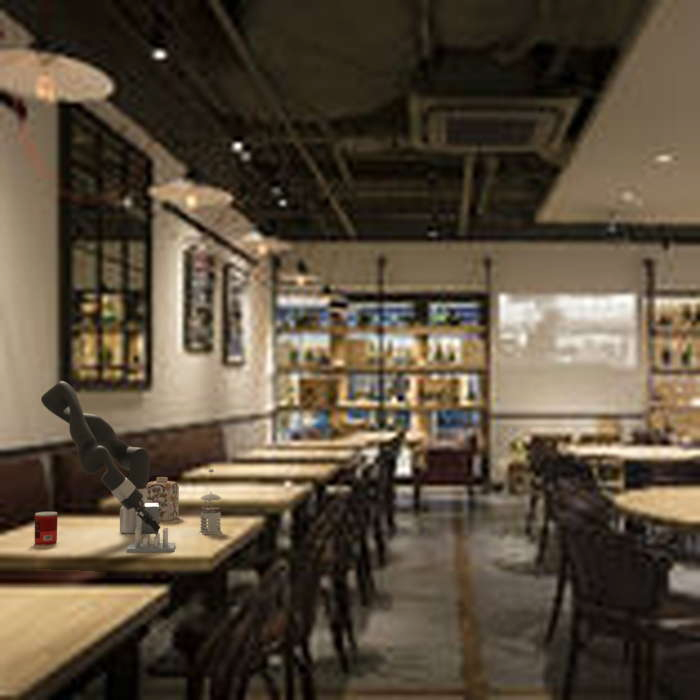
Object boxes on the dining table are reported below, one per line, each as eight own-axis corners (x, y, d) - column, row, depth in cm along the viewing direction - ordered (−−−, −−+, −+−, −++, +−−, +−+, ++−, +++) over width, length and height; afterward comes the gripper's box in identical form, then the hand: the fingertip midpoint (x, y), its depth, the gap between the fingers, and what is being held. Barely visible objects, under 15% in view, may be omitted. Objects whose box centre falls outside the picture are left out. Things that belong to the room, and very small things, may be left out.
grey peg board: (126, 552, 331) (126, 531, 331) (130, 546, 343) (130, 526, 343) (173, 551, 333) (173, 530, 333) (175, 545, 345) (175, 525, 345)
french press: (202, 535, 368) (203, 470, 369) (193, 531, 379) (193, 468, 380) (226, 533, 373) (227, 469, 374) (216, 529, 383) (217, 467, 384)
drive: (141, 534, 341) (141, 506, 340) (141, 530, 346) (141, 503, 345) (158, 533, 342) (159, 506, 341) (157, 529, 347) (158, 502, 346)
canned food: (61, 542, 351) (61, 512, 351) (47, 545, 343) (48, 515, 344) (43, 541, 353) (44, 511, 354) (29, 544, 346) (30, 513, 346)
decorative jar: (143, 520, 407) (144, 478, 408) (153, 516, 419) (154, 475, 419) (170, 521, 405) (170, 478, 406) (179, 517, 417) (180, 476, 417)
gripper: (118, 494, 347) (149, 527, 351) (118, 506, 333) (150, 540, 337) (134, 481, 347) (164, 514, 352) (135, 491, 334) (167, 526, 338)
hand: (157, 526), depth 344 cm, fingers closed on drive, 5 cm apart
